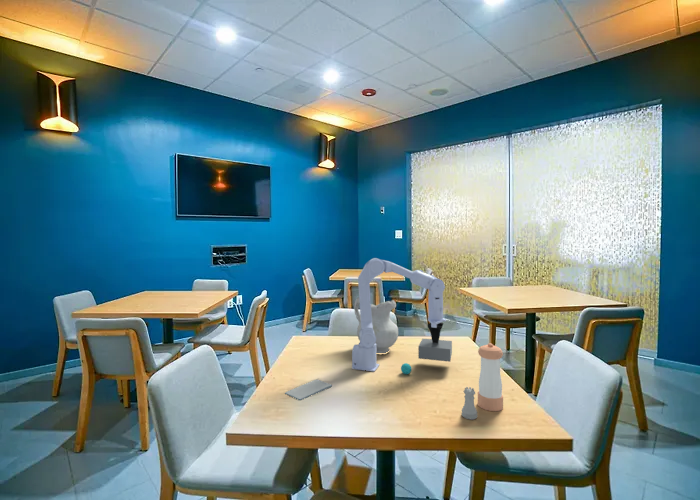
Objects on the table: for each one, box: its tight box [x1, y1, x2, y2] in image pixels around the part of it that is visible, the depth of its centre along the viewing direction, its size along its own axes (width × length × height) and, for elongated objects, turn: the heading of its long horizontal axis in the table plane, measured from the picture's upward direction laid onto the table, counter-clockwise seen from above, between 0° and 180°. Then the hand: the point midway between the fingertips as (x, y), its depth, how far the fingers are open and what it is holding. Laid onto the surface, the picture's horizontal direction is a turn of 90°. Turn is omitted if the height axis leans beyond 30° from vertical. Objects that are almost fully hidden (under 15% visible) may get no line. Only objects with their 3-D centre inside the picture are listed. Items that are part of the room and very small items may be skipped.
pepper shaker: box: [477, 342, 504, 412], centre depth 107 cm, size 7×7×19 cm
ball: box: [400, 362, 413, 375], centre depth 134 cm, size 4×4×4 cm
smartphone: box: [284, 378, 332, 401], centre depth 120 cm, size 8×1×15 cm
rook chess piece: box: [460, 386, 478, 420], centre depth 101 cm, size 4×4×8 cm
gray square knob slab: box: [417, 338, 453, 363], centre depth 141 cm, size 12×12×8 cm
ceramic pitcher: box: [353, 296, 399, 353], centre depth 164 cm, size 22×20×25 cm
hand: (435, 341), depth 141 cm, fingers closed on gray square knob slab, 2 cm apart
